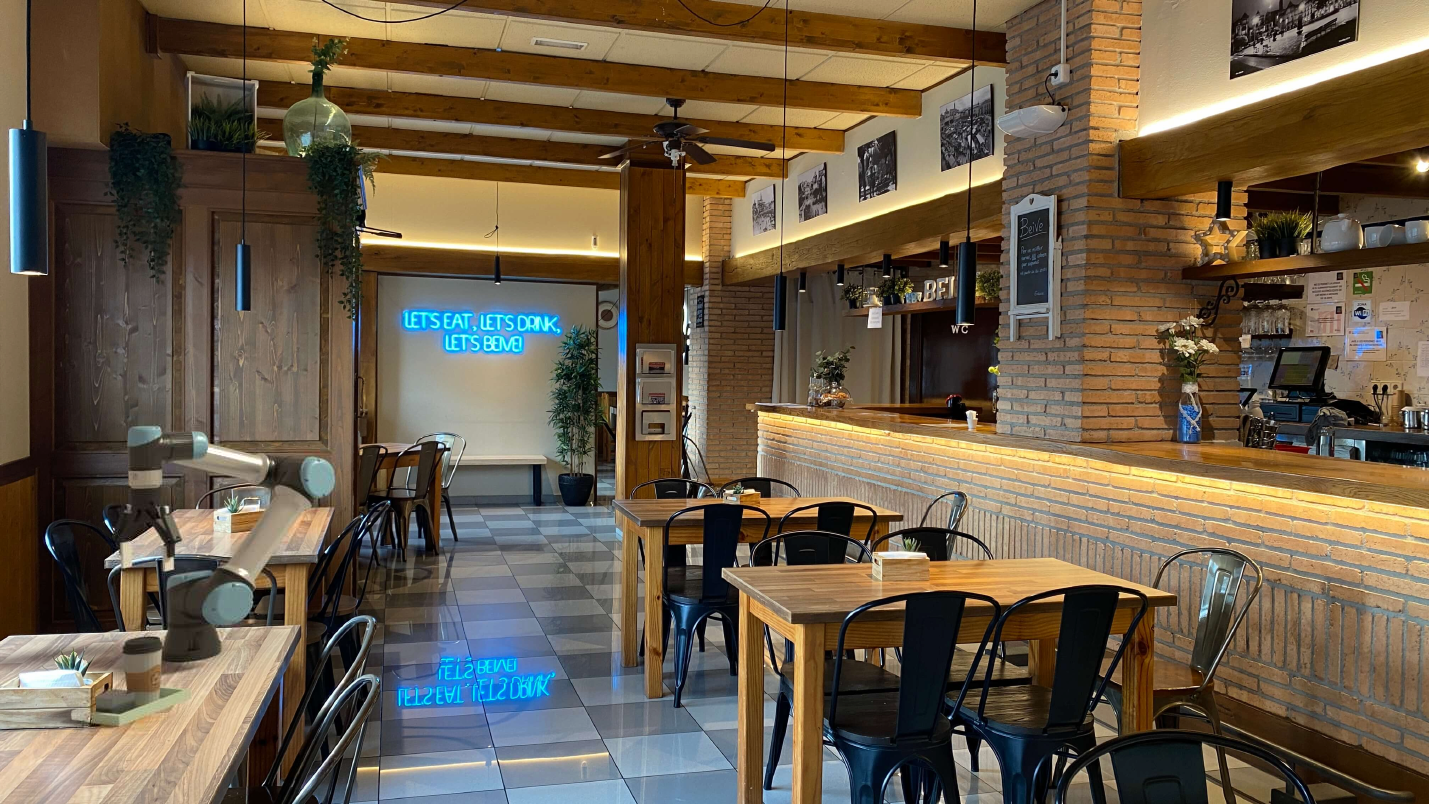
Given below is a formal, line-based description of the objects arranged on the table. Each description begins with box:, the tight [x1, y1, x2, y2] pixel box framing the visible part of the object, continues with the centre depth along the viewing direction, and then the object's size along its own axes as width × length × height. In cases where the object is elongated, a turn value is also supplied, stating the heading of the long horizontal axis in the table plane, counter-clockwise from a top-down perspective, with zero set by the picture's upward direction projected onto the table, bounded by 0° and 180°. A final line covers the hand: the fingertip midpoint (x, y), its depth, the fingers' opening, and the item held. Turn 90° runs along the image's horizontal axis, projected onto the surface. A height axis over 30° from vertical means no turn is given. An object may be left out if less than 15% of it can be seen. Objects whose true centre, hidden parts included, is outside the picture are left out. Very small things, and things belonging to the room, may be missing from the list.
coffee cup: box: [122, 635, 164, 707], centre depth 240 cm, size 8×8×15 cm
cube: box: [95, 688, 135, 715], centre depth 231 cm, size 6×6×5 cm
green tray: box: [90, 685, 191, 728], centre depth 236 cm, size 20×14×3 cm
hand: (147, 568), depth 260 cm, fingers open, 13 cm apart
